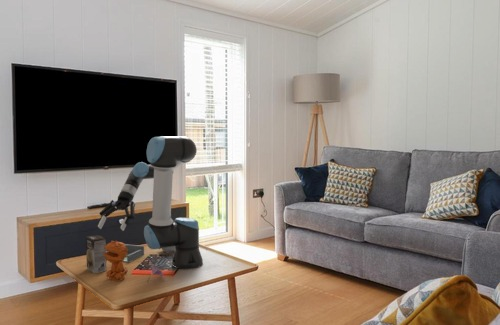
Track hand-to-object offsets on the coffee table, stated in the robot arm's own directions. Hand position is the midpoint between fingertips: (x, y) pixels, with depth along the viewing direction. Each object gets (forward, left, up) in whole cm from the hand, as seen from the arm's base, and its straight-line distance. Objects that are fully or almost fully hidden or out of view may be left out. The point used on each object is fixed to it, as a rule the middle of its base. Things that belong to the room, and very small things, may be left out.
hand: (110, 228), depth 222 cm
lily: (-36, +16, -18) cm, 43 cm away
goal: (-1, -10, -18) cm, 20 cm away
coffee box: (-1, +12, -18) cm, 22 cm away
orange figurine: (-17, +20, -18) cm, 32 cm away
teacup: (-19, -29, -18) cm, 38 cm away
